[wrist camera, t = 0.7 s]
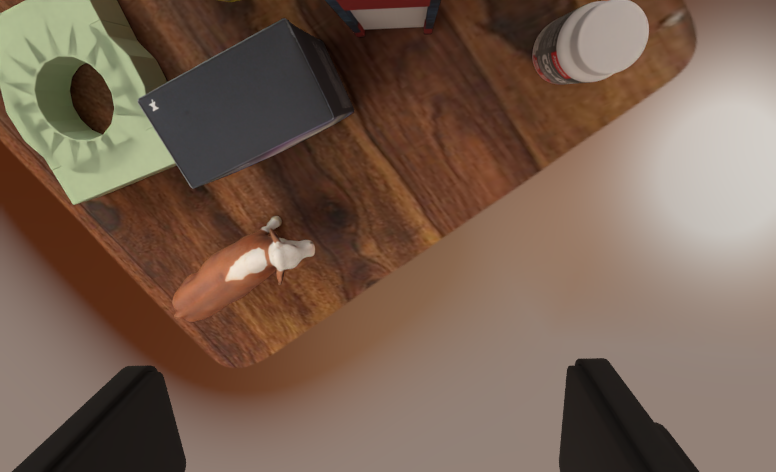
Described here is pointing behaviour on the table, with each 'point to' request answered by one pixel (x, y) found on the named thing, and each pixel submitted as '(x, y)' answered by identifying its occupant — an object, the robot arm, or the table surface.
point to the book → (386, 14)
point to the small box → (247, 103)
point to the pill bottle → (591, 42)
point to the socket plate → (53, 99)
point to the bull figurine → (238, 271)
